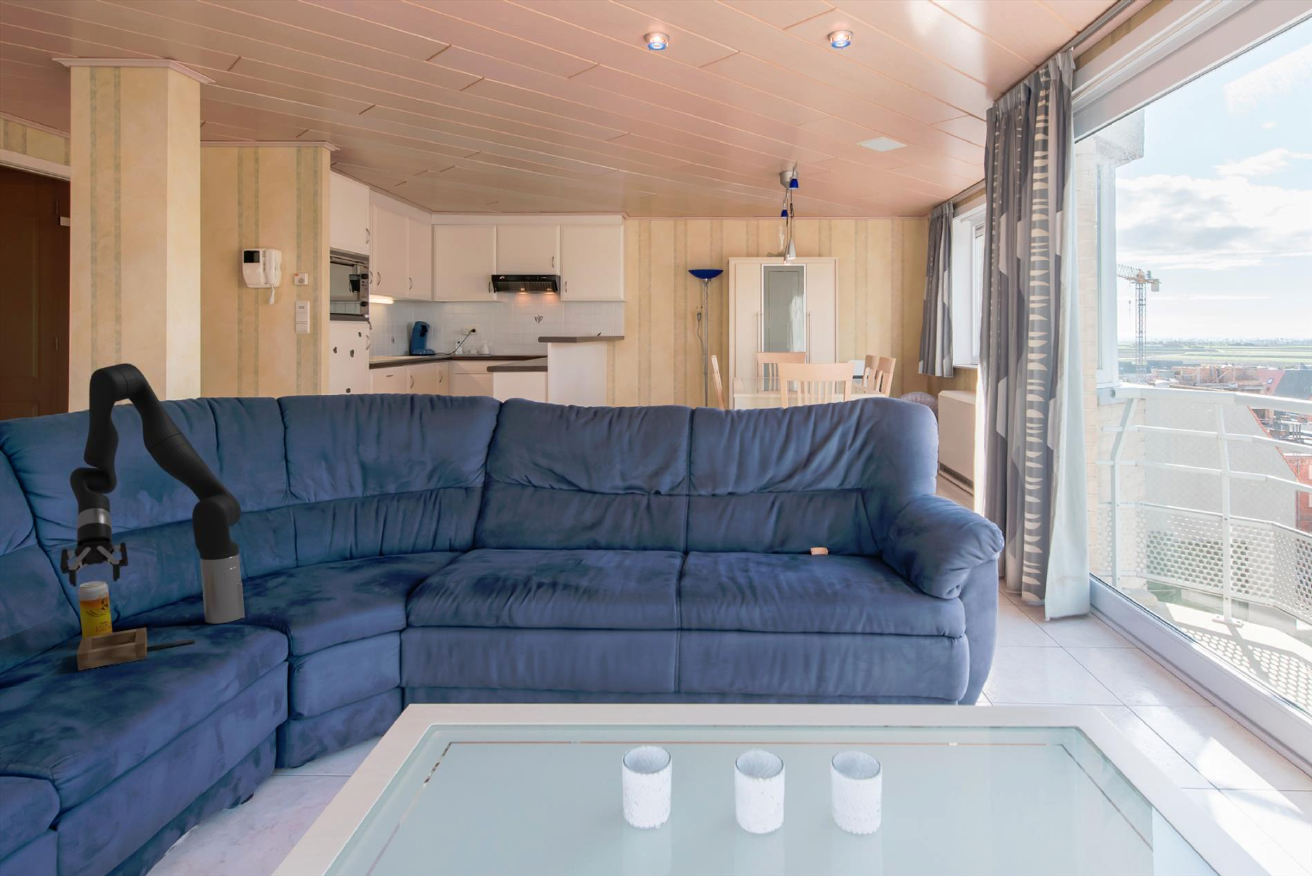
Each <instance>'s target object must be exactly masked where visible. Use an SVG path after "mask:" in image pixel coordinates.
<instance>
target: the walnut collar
mask: <svg viewBox="0 0 1312 876" xmlns="http://www.w3.org/2000/svg"><path fill="white" fill-rule="evenodd" d="M195 641H196V640H195V638H192V639H185V640H179V641H175V642H173V641H172V642H168V643H163V644H158V645H157V644H156V645H151V646H148V635H147V627H141V628H140V627H139V628H134V629H129V630H123V631H117V632H112V633H109V634H103V635H97V636H90V637H84V638H83V637H81V640H80V643H79V645H78V650H77V651H76V652H77V653H76V661H77V669H78V670H84V669H88V668H95V667H99V666H103V665H110V664H114V663H123V662H128V661H135V660H139V659H146V656H148V655H147V654H148V652H149V651H148V650H151V651H155V650H154V649H157V650H160V649H159V648H163V649H167V648H166V647H168V648H171V647H170V646H173V645H180V646H182V645H181V644H186V645H188V644H187V643H191V644H195V643H196V642H195ZM146 660H147V659H146ZM78 670H77V671H78Z"/></svg>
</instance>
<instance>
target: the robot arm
mask: <svg viewBox="0 0 1312 876" xmlns="http://www.w3.org/2000/svg"><path fill="white" fill-rule="evenodd" d="M88 386H89V387H88V388H89V389H88V392H89V393H88V397H89V398H88V401H89V403H88V412H89V417H88V418H89V419H88V421H89V425H88V426H89V427H88V434H87V439H86V443H85V449H84V451H83V452H84V453H83V461H84V462H85V463H86V464H87V465H88V466H91V467H88V466H87V467H85V466H83V467H82V466H80V467H77V468H75V469H74V470H73V471H72V472H71V474H70V478H69V482H70V483H69V484H70V487H71V491H72V492H73V494H74V496H75V499H76V502H77V514H78V515H77V522H76V523H77V524H76V548H75V549H73V550H68V549H67V548H63V549H61V555H60V563H59V564H60V566H59V567H60V571H61V572H60V573H61V575H62V574H63V575H65V574H68V582H69V584H70V586H72V587H77V586H78V584H77V583H78V582H77V581H78V579H77V578H78V577H77V576H78V572H79V571H80V570H82V569H83V568H84V567H85V566H86V565H88V566H92V565H96V564H98V565H99V564H103V563H106V564H108V566H111V567H112V579H113V582H118V580H120V578H121V568H122V567H128V566H129V558H128V557H129V556H128V552H127V544H126V542H121V543H120V544H116V545H114V544H113V535H112V533H113V532H112V531H113V526H112V519H111V504H110V499H109V497H108V496H107V495H108V494H110V493H112V492H114V490H115V489H116V488H117V485H118V480H117V479H118V478H117V474H116V469H115V467H116V465H115V461H116V455H117V450H118V445H119V441H120V438H119V432H118V430H117V428H116V426H115V423H114V421H113V420H112V413H113V409H114V406H115V404H116V403H117V402H121V401H124V400H129V401H130V402H131V403H132V405H133V406H134V408H135V409H136V411H137V412H138V414H139V415H140V419H141V423H142V439H143V445H144V447H145V449H146V451H147V452H148V454H149V455H150V457H151V458H152V459H153V460H154V462H155V463H156V464H157V465H158V466H159V468H160V469H162V470H163V471H164V472H165V473H167V474H168V475H169V476H171V477H173V478H174V479H176V480H177V481H179V482H180V483H182V484H183V485H184V486H186V487H187V488H189V489H190V490H191V492H192V493H193V494H194V495H195V497H196V498H197V499H198V502H196V504H195V505H194V507H193V510H192V514H191V520H192V522H191V523H192V530H193V535H194V545H195V547H196V549H197V551H198V553H199V560H200V561H199V562H200V571H201V572H200V574H201V585H202V597H203V598H202V599H203V610H204V613H203V614H204V622H205V623H208V624H224V623H230V622H233V621H237V620H239V619H240V620H241V619H245V618H246V617H245V606H244V593H243V582H242V576H241V575H242V573H241V563H240V548H239V544H238V542H236V541H233V540H232V539H231V535H230V527H232V526H235V525H236V524H237V523H239V521H240V519H241V517H242V508H241V504H240V503H239V501H238V500H237V498H236V497H235V496H234V495H233V494H232V493H231V491H229V489H228V488H226V486H225V485H224V484H223V483H222V482H221V481H220V480H219V479H218V478H217V477H216V476H215V474H214V473H213V471H211V469H210V467H208V465H207V464H206V462H205V461H204V460H203V459H202V457H201V456H200V455H199V453H198V452H197V451H196V449H195V448H194V447H193V445H192V444H191V442H190V441H189V439H188V438H187V436H186V435H185V434H184V433H183V432H182V430H181V429H180V428H179V427H178V426H177V424H176V423H175V422H174V420H173V418H172V417H171V416H170V414H169V413H168V412H167V411H166V409H165V407H164V406H163V404H162V403H161V401H160V400H159V398H158V397H157V395H156V393H155V392H154V390H153V388H152V386H151V385H150V384H149V381H148V380H147V379H146V376H145V375H144V374H143V372H142V371H141V370H140V369H139V368H138V367H137V366H135V365H133V364H132V363H128V362H126V363H125V362H124V363H119V364H118V363H117V364H114V365H109V366H105V367H102V368H97V369H96V370H94V371H93V373H91V376H90V380H89V385H88ZM115 551H116V552H117V553H118V554H121V559H119V560H118V559H117V558H116V557H115V556H114V554H113V553H114V552H115ZM74 556H75V557H76V558H75V559H74V560H73V561H74V562H72V563H71V564H70V565H69V561H70V560H71V559H72V557H74Z"/></svg>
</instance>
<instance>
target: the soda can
mask: <svg viewBox="0 0 1312 876" xmlns="http://www.w3.org/2000/svg"><path fill="white" fill-rule="evenodd" d="M77 593H78V604H79V606H78V607H79V615H80V616H79V617H80V623H81V624H80V626H81V632H82V633H81V634H82V638H84V637H90V636H97V635H103V634H109V633H113V627H112V616H111V605H110V595H109V586H108V584H107V583H106V581H105V580H94V581H93V580H92V581H88V582H83V583H82V584H80V585H79V587H78V589H77Z"/></svg>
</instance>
